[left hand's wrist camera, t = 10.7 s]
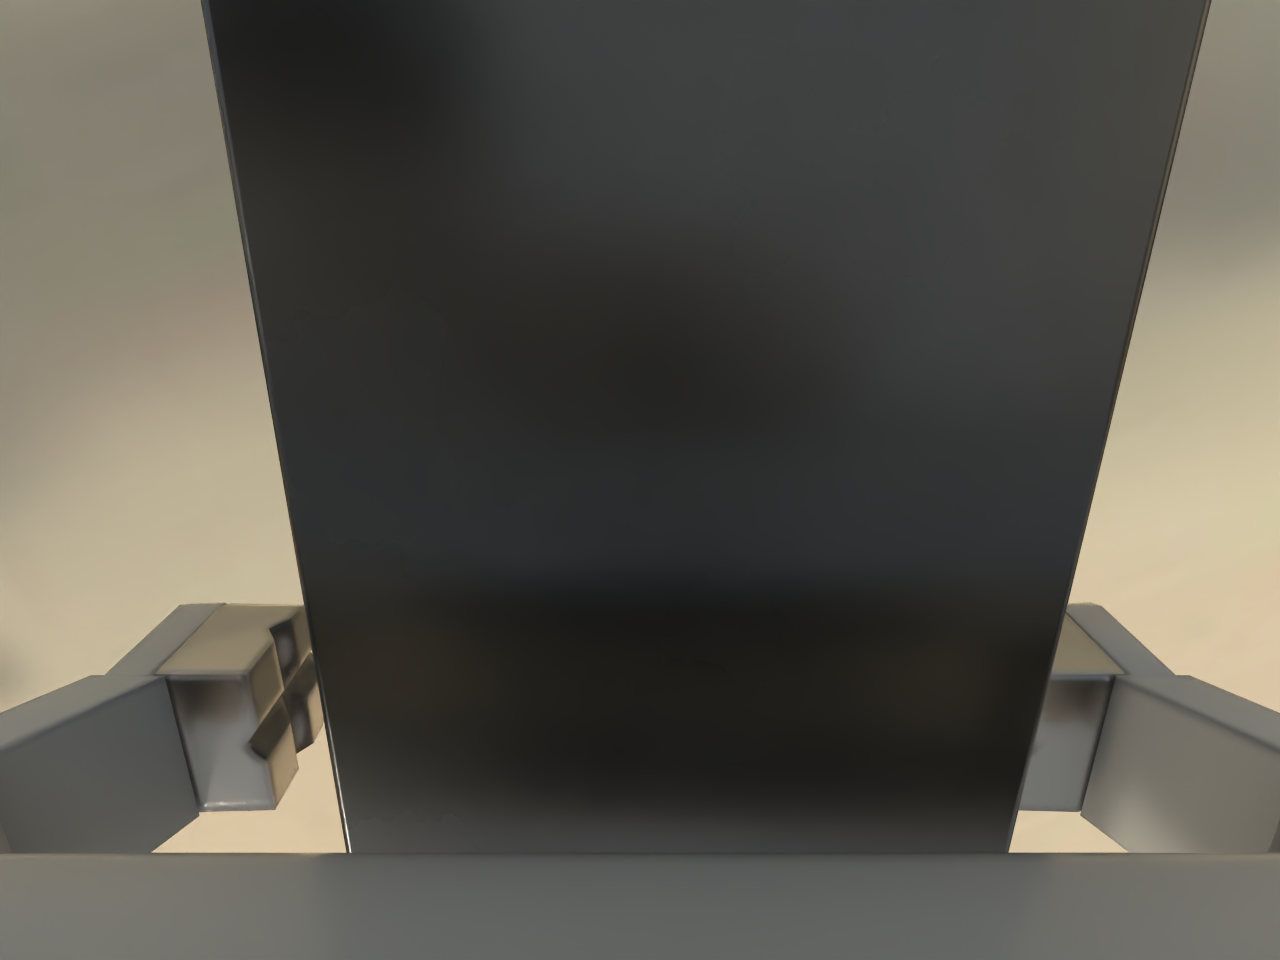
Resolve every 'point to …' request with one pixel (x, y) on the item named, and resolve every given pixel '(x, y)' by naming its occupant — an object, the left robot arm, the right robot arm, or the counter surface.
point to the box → (692, 396)
